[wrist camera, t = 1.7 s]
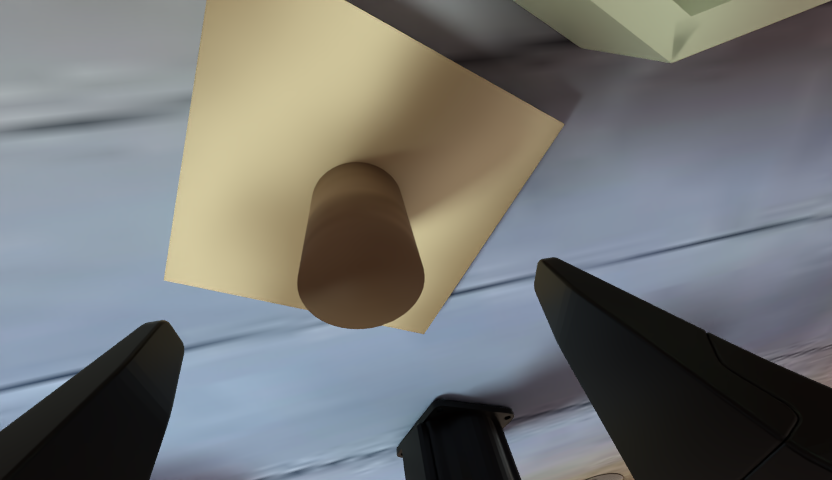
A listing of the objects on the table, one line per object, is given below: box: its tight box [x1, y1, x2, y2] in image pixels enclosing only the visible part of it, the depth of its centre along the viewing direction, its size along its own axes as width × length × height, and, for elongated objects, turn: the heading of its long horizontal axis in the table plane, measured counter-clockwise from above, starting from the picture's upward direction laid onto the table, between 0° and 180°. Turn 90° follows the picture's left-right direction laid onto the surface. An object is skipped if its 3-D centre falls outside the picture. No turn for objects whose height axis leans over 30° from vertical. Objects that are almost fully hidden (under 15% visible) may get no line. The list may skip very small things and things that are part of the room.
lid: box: [164, 0, 564, 334], centre depth 11 cm, size 11×11×5 cm
